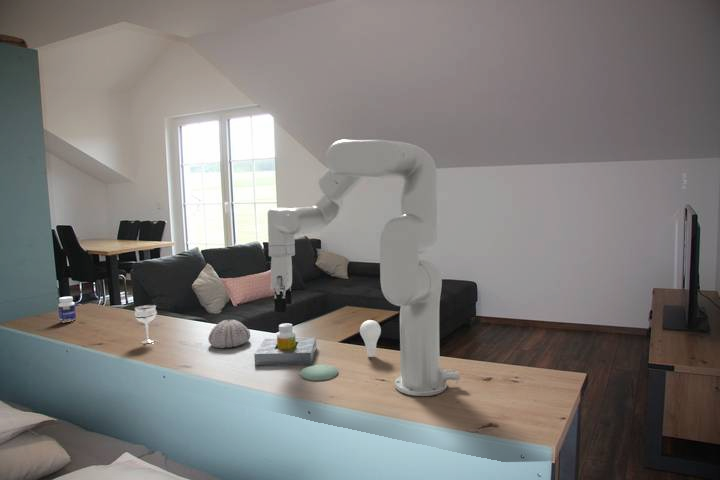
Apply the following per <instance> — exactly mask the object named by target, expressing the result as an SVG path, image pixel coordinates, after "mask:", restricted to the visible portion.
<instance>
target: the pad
mask: <svg viewBox="0 0 720 480" xmlns="http://www.w3.org/2000/svg"><path fill="white" fill-rule="evenodd" d="M338 373H339V370H338V368H337V367H336V366H334V365H331V364H330V365H329V364H316V365H310V366H309V365H308V366H307V367H304V368H302V370H300V377H301V378H302V379H304V380H306V381H310V382H313V381H314V382H322V381H327V380H332V379H333V378H335V377H336V376H338Z"/></svg>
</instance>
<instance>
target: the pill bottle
mask: <svg viewBox="0 0 720 480" xmlns="http://www.w3.org/2000/svg"><path fill="white" fill-rule="evenodd" d="M73 300H74V298H73V296H71V295H70V296H62V297H59V299H58V301H59V303H58V305H57V306H58V321H70V320H74V319H76V320H77V315H76V304H75V303H76V302H74V301H73Z"/></svg>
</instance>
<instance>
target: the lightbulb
mask: <svg viewBox="0 0 720 480" xmlns="http://www.w3.org/2000/svg"><path fill="white" fill-rule="evenodd" d="M381 332H382V329H381V326H380V324H379V323H378V322H377V321H375V320H372V319H368V320H366V321H364V322H362V323H361V325H360V327H359V334H360V336H361V338H362V340H363V342H364V345H365V350H366V356H367V357H369V358H373V357H375V355H376V349H377V345H378V344H377V343H378V340H379V338H380V336H381V334H382V333H381Z"/></svg>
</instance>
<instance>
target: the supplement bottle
mask: <svg viewBox="0 0 720 480" xmlns="http://www.w3.org/2000/svg"><path fill="white" fill-rule="evenodd" d="M293 327H294V326H293V324H292V323H286V322H285V323H281V324H279V325H278V331H279V332H277V334H276V339H277V347H278V349H295V348H296V339H295V338H296V332H295V331H294V330H293Z"/></svg>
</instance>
